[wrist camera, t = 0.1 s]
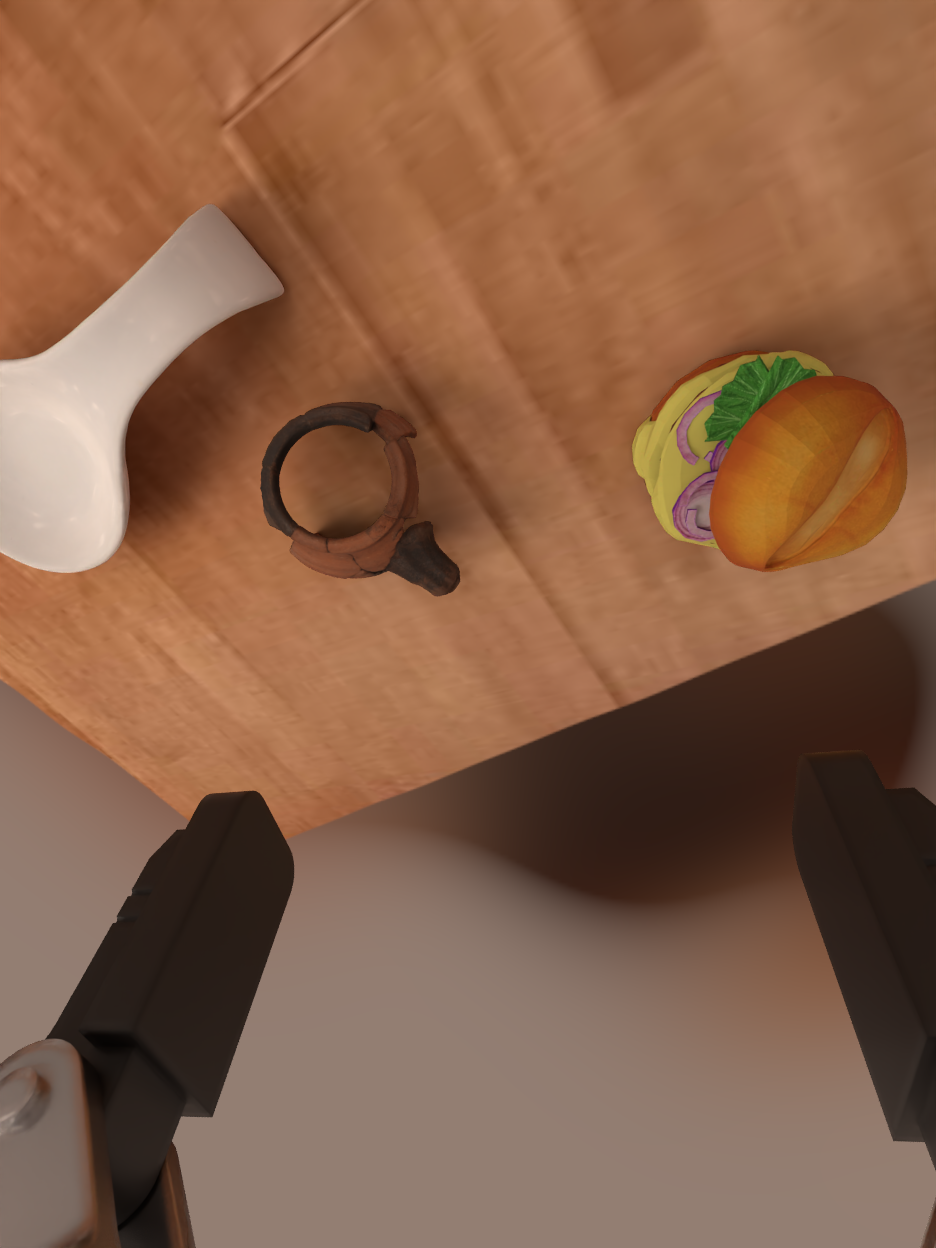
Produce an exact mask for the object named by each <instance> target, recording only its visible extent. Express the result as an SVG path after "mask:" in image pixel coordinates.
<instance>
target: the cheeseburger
mask: <svg viewBox="0 0 936 1248" xmlns="http://www.w3.org/2000/svg"><path fill="white" fill-rule="evenodd" d="M632 454H633V463H634V466H635V468H636V470H637V473H638V475H640V476H641V477H643V478H644V479H645V485H646V486H647V490H648V493H649V494H650V495H651V497H652V499H651V502H652V505H653V508H654V511H655V514H656V516H657V518H658V520H659V522H660V523H661V525H662V526H663V528H664V529H665V531H666V532H667V533H668V534H670V535H671V536H672V537H674V538H675V539H676V540H680V541H685V542H690V543H695V544H700V545H705V546H710V547H714V548H717V549H720V550H721V551H722V552H723V554H724V555H725V556H726V557H727V559H728V560H729V561H730V562H732V563H733V564H735V565H737V566H741V567H745V568H749V569H754V570H758V571H762V572H772V571H779V570H783V569H787V568H790V567H794V566H798V565H802V564H806V563H810V562H815V561H819V560H824V559H828V558H832V557H836V556H840V555H843V554H846V553H848V552H850V551H852V550H855V549H857V548H859V547H862V546H864V545H866V544H867V543H868V542H870V541H871V540H872V539H873V538H874V537H875V536H877V535H878V534H879V533H880V532H881V531H882V530H884V528H885V527H886V526H887V524H888V523H889V522H890V520H891V519H892V517H893V516H894V515H895V513H896V512H897V510H898V508H899V505H900V502H901V500H902V497H903V494H904V491H905V489H906V480H907V452H906V439H905V433H904V426H903V422H902V420H901V418H900V416H899V414H898V412H897V410H896V409H895V408H894V407H893V405H892V404H891V403H890V402H889V401H888V400H887V399H886V398H885V397H884V396H883V395H882V394H881V393H880V392H879V391H878V390H877V389H876V388H875V387H873V386H872V385H870V384H868V383H865V382H861V381H858V380H855V379H851V378H848V377H844V376H834V375H833V373H832V372H831V371H830V370H829V369H828V367H827V366H826V365H825V364H824V363H823V362H821V361H820V360H818V359H816V358H814V357H812V356H810V355H807V354H805V353H802V352H799V351H791V350H789V351H785V352H780V353H776V352H771V353H767V352H762V351H744V352H740V353H736V354H732V355H728V356H724V357H721V358H717V359H713V360H709V361H708V362H706V363H705V364H703V365H702V366H700V367H699V368H697V369H695V370H694V371H692V372H691V373H689V374H688V375H686V376H685V377H683V378H681V379H680V380H678V381H677V382H676V383H675V384H674V386H673V387H672V388H671V389H670V390H669V392H668V393H667V394H666V395H665V397H664V398H663V399H662V400H661V402H660V403H659V404H658V405H657V406H656V408H655V409H654V410H653V413H652V415H650V416H649V417H648V418H647V419H646V420H645V421H644V423H643V424H642V425H641V426H640V427H639V428H638V429H637V432H636V435H635V438H634V441H633V444H632Z"/></svg>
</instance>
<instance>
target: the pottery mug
mask: <svg viewBox="0 0 936 1248" xmlns="http://www.w3.org/2000/svg"><path fill="white" fill-rule="evenodd" d="M330 425H345V426H351V427H354V428H357V429H360V430H362V431H364V432H367V433H369V432H370V431H372V430H373V431H374V432H375V433H377V434H378V435H379V436H380V437H381V438H382V439H383V440H384V441H385V442H386V445H385V447H384V452H385V454H386V456H387V458H388V461H389V464H390V468H391V472H392V488H391V494H390V498H389V501H388V503H387V505H386V508H385V510H384V513H383V514H382V515H381V516H380V517H379V518H378V520H377V521H376V522H375V523H374V524H373V525H371V526H370V527H368V528H367V529H366V530H364V531H362V532H360V533H358V534H356V535H353V536H349V537H346V538H326V537H322V536H321V535H320V534H318V533H315V534H313V533H311V532H309V531H307V530H306V529H304V528H303V527H301V526H299V525H298V524H297V523H296V522H295V521H294V520H293V519H292V518H291V516H290V515H289V513H288V512H287V510H286V508H285V506H284V504H283V501H282V498H281V494H280V487H279V475H280V471H281V467H282V464H283V462H284V459H285V457H286V455H287V453H288V452H289V450H290V449H291V447H292V446H293V445H294V444H295V443H296V442H297V441H298V440H299V439H300V438H301V437H302V436H304V435H305V434H307V433H308V432H310V431H312V430H315V429H318V428H322V427H325V426H330ZM416 436H417V431H416V429H415V428H414V427H413V426H412V425H411V424H410V423H408V422H407V421H406V420H404V419H403V418H402V417H401V416H399V415H397V414H396V413H394V412H392V411H391V410H383V409H382V408H381V407H380V406H379V405H376V404H372V403H361V402H341V403H332V404H327V405H323V406H320V407H317V408H314V409H312V410H310V411H308V412H306V413H305V415H299V416H298V417H296V418H295V419H292V420H291V421H289V422H288V423H287V424H286V425H285V426H284V427H283V428H282V429H281V430H280V431H279V432H278V433H277V434H276V435H275V436H274V438H273V439H272V441H271V443H270V444H269V446H268V448H267V451H266V454H265V456H264V459H263V461H262V466H263V468H262V471H261V488H260V489H261V491H262V499H263V506H264V513H265V516H266V518H267V521H268V523H269V525H270V526H272V527H275V528H276V529H278V530H281V531H282V532H283V533H284V534H285V535H287V536H289V537H291V539H293V540H294V541H293V543H292V546H291V548H290V553H291V554H293V555H294V556H295V557H296V558H297V559H298V560H299V561H300V562H302V563H303V564H304V565H306V566H307V567H309V568H311V569H313V570H315V571H317V572H320V573H323V574H325V575H329V576H332V577H337V578H344V579H347V578H366V577H372V576H376V575H379V574H381V573H384V572H387V571H390V572H393V573H395V574H397V575H399V576H401V577H403V578H404V579H406V580H408V581H409V582H411V583H413V584H416V585H419V586H421V587H423V588H424V589H426V590H427V591H429V592H430V593H432V595H434V596H442V595H446V594H448V593H451V592H452V591H454V590H455V588H456V587H457V586H458V584H459V582H460V571H459V568H458V566H457V565H456V564H455V563H454V562H453V561H452V560H451V559H450V558H449V557H448V556H447V555H446V554H445V553H444V552H443V551H442V550H441V549H440V548H439V546H438V545H437V543H436V541H435V538H434V534H433V525H432V524H431V522H429V521H425V522H422V523H419V524H415V525H412V526H410V527H409V528H408V529H407V530H406V531H405V532H404V534H403V524H404V521H405V519H406V518H416V515H417V511H418V492H419V482H418V475H417V469H416V468H417V467H416V460H415V457H414V454H413V451H412V448H411V446H410V444H409V442H408V440H407V439H406V438H405V437H411V438H415V437H416Z"/></svg>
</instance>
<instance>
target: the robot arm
mask: <svg viewBox="0 0 936 1248" xmlns="http://www.w3.org/2000/svg"><path fill="white" fill-rule="evenodd" d="M792 835H793V844H794V851H795V856H796V861H797V865H798V868H799V871H800V875H801V877H802V880H803V883H804V886H805V889H806V892H807V895H808V898H809V900H810V903H811V906H812V909H813V912H814V915H815V918H816V920H817V923H818V926H819V929H820V932H821V935H822V938H823V940H824V943H825V946H826V949H827V952H828V955H829V958H830V960H831V963H832V966H833V969H834V972H835V975H836V978H837V980H838V983H839V986H840V989H841V992H842V995H843V998H844V1001H845V1004H846V1006H847V1009H848V1012H849V1015H850V1018H851V1021H852V1024H853V1026H854V1029H855V1032H856V1035H857V1038H858V1041H859V1044H860V1047H861V1050H862V1052H863V1055H864V1058H865V1061H866V1064H867V1067H868V1069H869V1072H870V1075H871V1078H872V1081H873V1084H874V1087H875V1090H876V1092H877V1095H878V1098H879V1101H880V1104H881V1107H882V1109H883V1112H884V1115H885V1118H886V1121H887V1124H888V1127H889V1130H890V1132H891V1136H892V1138H893V1141H911V1142H925V1144H926V1146H927V1149H928V1151H929V1154H930V1157H931V1160H932V1162H933V1165H934V1167H935V1170H936V806H935V805H934V804H933V803H932V802H931V801H929V800H928V799H927V798H926V797H925V796H923V795H922V794H921V793H920V792H919V791H918V790H916V789H915V788H899V789H885V788H884V786H883V784H882V782H881V780H880V778H879V776H878V774H877V773H876V771H875V769H874V767H873V765H872V763H871V761H870V760H869V758H868V756H867V755H866V754H865V753H864V752H863V751H861V750H851V751H850V750H849V751H835V752H823V753H822V752H821V753H807V754H801V755H800V756H799V758H798V764H797V774H796V786H795V798H794V810H793V822H792ZM293 880H294V861H293V856H292V853H291V850H290V848H289V846H288V844H287V842H286V840H285V838H284V836H283V835H282V833H281V831H280V829H279V827H278V825H277V823H276V821H275V819H274V818H273V816H272V814H271V812H270V810H269V808H268V806H267V804H266V802H265V800H264V799H263V797H262V796H261V795H260V793H258V792H257V791H243V792H229V793H214V794H209V795H207V796H205V797H204V798H203V799H202V800H201V802H200V803H199V805H198V807H197V809H196V810H195V812H194V814H193V816H192V818H191V820H190V822H189V824H188V825H187V827H186V829H185V830H176V832H174V834H173V835H172V836H171V837H170V838H169V839H168V840H167V841H166V842H165V843H164V844H163V845H162V846H161V847H160V848H159V849H158V850H157V851H156V852H155V853H154V854H153V855H152V856H151V857H150V859H149V860H148V862H147V864H146V866H145V867H144V869H143V871H142V873H141V874H140V876H139V878H138V880H137V882H136V884H135V885H134V887H133V889H132V895H131V896H128V897H127V899H126V901H125V903H124V905H123V906H122V908H121V910H120V912H119V913H118V915H117V922H116V923H113V924H112V926H111V927H110V929H109V931H108V933H107V935H106V936H105V938H104V940H103V941H102V943H101V945H100V947H99V949H98V950H97V952H96V954H95V956H94V957H93V959H92V961H91V963H90V965H89V966H88V968H87V970H86V972H85V973H84V975H83V977H82V979H81V981H80V982H79V984H78V986H77V987H76V989H75V991H74V993H73V995H72V996H71V998H70V1000H69V1002H68V1003H67V1005H66V1007H65V1009H64V1010H63V1012H62V1014H61V1016H60V1017H59V1019H58V1021H57V1023H56V1025H55V1026H54V1028H53V1029H52V1031H51V1032H50V1034H49V1035H48V1036H47V1038H46V1039H45V1040H41V1041H38V1042H35V1043H32V1044H30V1045H28V1046H26V1047H24V1048H22V1049H20V1050H18V1051H17V1052H15V1053H14V1054H12V1055H11V1056H10V1057H8V1058H7V1059H6V1060H4V1062H2V1063H1V1064H0V1248H196V1247H195V1242H194V1237H193V1232H192V1226H191V1221H190V1216H189V1211H188V1206H187V1200H186V1195H185V1190H184V1185H183V1180H182V1175H181V1169H180V1165H179V1159H178V1154H177V1151H176V1147H175V1146H174V1144H173V1142H172V1139H173V1136H174V1133H175V1130H176V1128H177V1126H178V1123H179V1120H180V1118H181V1116H186V1117H213V1114H214V1111H215V1108H216V1105H217V1102H218V1099H219V1097H220V1094H221V1091H222V1088H223V1085H224V1082H225V1079H226V1077H227V1073H228V1071H229V1068H230V1065H231V1062H232V1059H233V1056H234V1054H235V1051H236V1048H237V1045H238V1042H239V1039H240V1036H241V1034H242V1031H243V1027H244V1025H245V1022H246V1019H247V1016H248V1013H249V1011H250V1008H251V1005H252V1002H253V999H254V996H255V993H256V991H257V988H258V985H259V982H260V979H261V976H262V973H263V970H264V968H265V965H266V962H267V959H268V956H269V953H270V950H271V948H272V945H273V942H274V939H275V936H276V933H277V930H278V928H279V925H280V922H281V919H282V916H283V913H284V910H285V907H286V905H287V901H288V899H289V896H290V893H291V890H292V886H293ZM920 1248H936V1198H935V1201H934V1204H933V1207H932V1210H931V1214H930V1218H929V1220H928V1223H927V1227H926V1230H925V1233H924V1236H923V1240H922V1243H921V1246H920Z"/></svg>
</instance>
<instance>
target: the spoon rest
mask: <svg viewBox="0 0 936 1248" xmlns="http://www.w3.org/2000/svg"><path fill="white" fill-rule="evenodd" d="M283 293H284V287H283V285H282V283H281V282H280V281H279V279H278V278H277V276H276V275H275V274H274V273H273V271H272V270H271V269H270V268H269V266H268V265H267V264H266V263H265V262H264V261H263V259H262V258H261V257H260V256H259V255H258V254H257V252H256V251H255V250H254V248H253V247H252V246H251V244H250V243H249V242H248V241H247V240H246V238H245V237H244V236H243V235H242V234H241V232H240V231H239V230H238V229H237V228H236V226H235V225H234V224H233V223H232V222H231V221H230V219H229V218H228V217H227V216H226V215H225V214H224V213H223V212H222V211H221V210H220V209H219V208H218V207H217V206H215V205H213V204H207V205H205V206H203V207H202V208H201V209H199V210H198V211H196V212H195V213H194V214H192V215H191V216H190V217H188V218H187V220H186V221H185V222H184V223H183V224H182V225H181V226H180V227H179V228H178V229H177V230H176V231H175V233H174V234H173V235H172V236H171V237H170V238H169V239H168V240H167V241H166V242H165V244H164V245H163V246H162V247H161V248H160V249H159V250H158V251H157V252H156V253H155V254H154V255H153V256H152V257H151V258H150V259H149V260H148V261H147V262H146V263H145V264H144V265H143V266H142V267H141V268H140V269H139V270H138V271H137V272H136V273H135V274H134V275H133V276H132V277H131V278H130V279H129V280H128V281H127V282H126V283H125V284H124V285H123V286H122V287H121V288H120V289H119V290H117V291H116V292H115V293H114V294H113V295H112V296H111V297H110V298H109V299H108V300H107V301H105V302H104V303H103V304H102V305H101V306H100V307H99V308H98V309H97V310H95V311H94V312H93V313H92V314H91V315H90V316H89V317H87V318H86V319H85V320H84V321H83V322H82V323H81V324H80V325H78V326H77V327H76V328H75V329H74V330H73V331H72V332H71V333H69V334H68V335H67V336H66V337H64V338H63V339H62V340H60V341H59V342H58V343H56V344H55V345H54V346H52V347H51V348H49V349H47V350H46V351H44V352H42V353H40V354H38V355H35V356H32V357H28V358H22V359H8V360H0V552H1V553H3V554H5V555H7V556H8V557H10V558H12V559H14V560H17V561H19V562H21V563H23V564H26V565H28V566H31V567H34V568H38V569H41V570H45V571H51V572H60V573H73V572H80V571H85V570H88V569H92V568H94V567H97V566H99V565H101V564H103V563H104V562H106V561H107V560H108V559H110V558H111V557H112V556H113V555H114V554H115V552H116V551H117V550H118V548H119V547H120V545H121V543H122V541H123V538H124V536H125V532H126V529H127V524H128V519H129V510H130V490H129V478H128V470H127V465H126V458H125V439H126V433H127V428H128V423H129V420H130V417H131V415H132V413H133V411H134V409H135V407H136V405H137V404H138V402H139V401H140V399H141V398H142V396H143V395H144V394H145V392H146V391H147V390H148V389H149V387H150V386H151V385H152V384H153V382H154V381H155V380H156V379H157V378H158V377H159V376H160V375H161V374H162V372H163V371H164V370H165V369H166V368H167V367H168V366H169V365H170V364H171V363H172V362H173V361H174V360H175V358H176V357H178V356H179V355H180V354H181V353H182V352H183V351H184V350H185V349H186V348H187V347H188V346H190V345H191V344H192V343H193V342H194V341H195V340H197V339H198V338H199V337H200V336H202V335H203V334H204V333H206V332H207V331H209V330H210V329H212V328H213V327H215V326H216V325H217V324H219V323H221V322H223V321H224V320H226V319H228V318H229V317H231V316H233V315H235V314H237V313H238V312H241V311H243V310H246V309H248V308H251V307H253V306H256V305H259V304H261V303H264V302H267V301H269V300H272V299H274V298H277V297H279V296H281V295H282V294H283Z"/></svg>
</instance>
